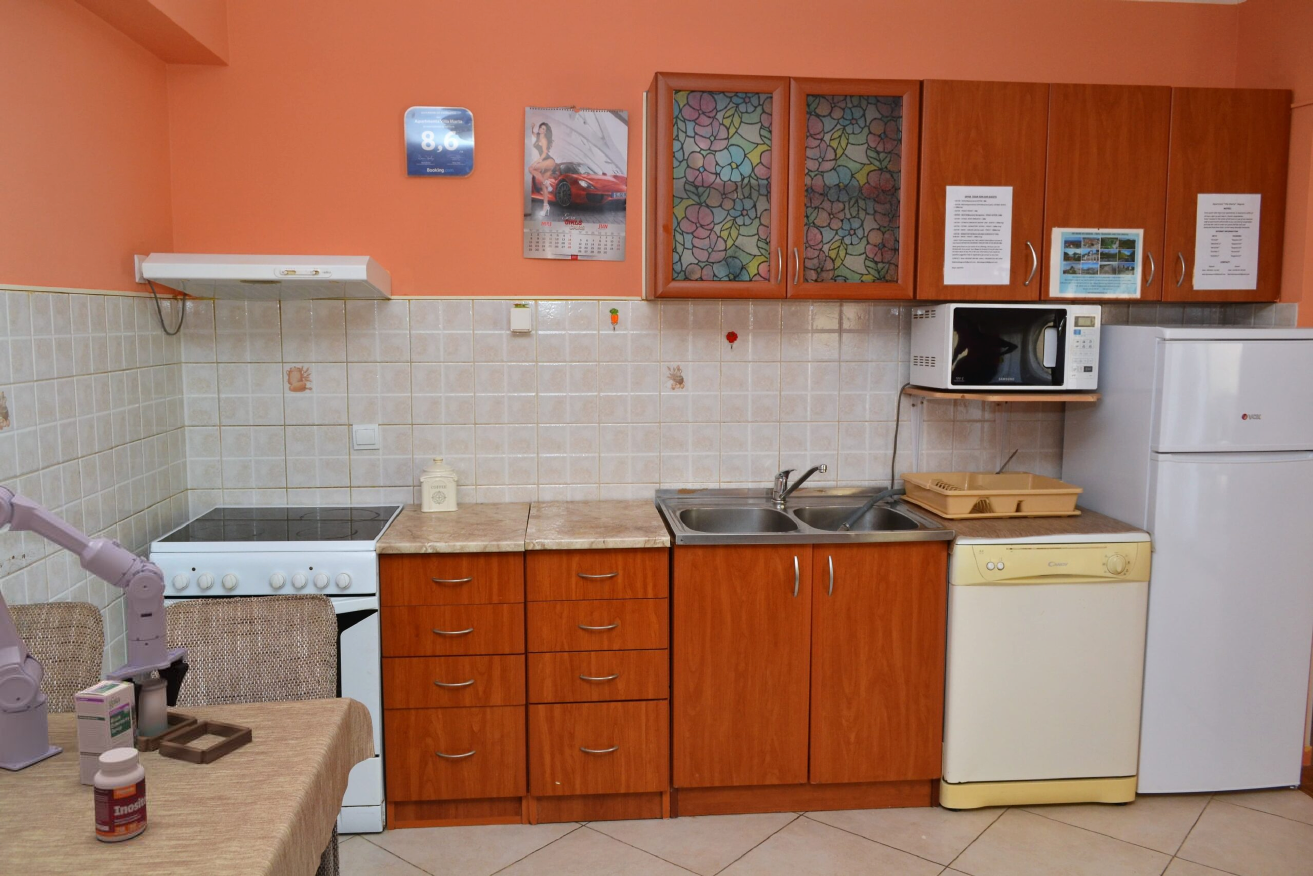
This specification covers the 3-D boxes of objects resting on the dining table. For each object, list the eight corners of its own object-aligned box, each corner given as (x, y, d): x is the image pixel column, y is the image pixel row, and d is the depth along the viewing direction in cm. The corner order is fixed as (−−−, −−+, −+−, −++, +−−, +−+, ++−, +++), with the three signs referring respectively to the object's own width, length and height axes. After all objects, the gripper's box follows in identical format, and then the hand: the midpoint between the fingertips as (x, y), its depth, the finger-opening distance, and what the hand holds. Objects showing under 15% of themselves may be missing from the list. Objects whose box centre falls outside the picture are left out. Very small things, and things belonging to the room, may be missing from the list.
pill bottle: (118, 847, 127) (114, 768, 126) (85, 838, 129) (80, 760, 128) (158, 825, 132) (154, 749, 131) (125, 817, 135) (121, 742, 134)
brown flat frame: (102, 742, 159) (102, 731, 159) (155, 720, 169) (155, 709, 169) (205, 765, 151) (204, 753, 151) (254, 739, 161) (254, 728, 161)
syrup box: (112, 788, 143) (107, 695, 142) (78, 784, 144) (73, 692, 143) (140, 771, 149) (135, 681, 147) (107, 768, 150) (102, 678, 148)
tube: (130, 737, 161) (128, 685, 160) (154, 726, 165) (152, 676, 164) (151, 742, 159) (149, 689, 158) (175, 731, 163) (173, 680, 162)
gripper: (127, 651, 152) (131, 733, 154) (200, 626, 166) (203, 701, 167) (95, 646, 155) (99, 726, 156) (169, 621, 168) (173, 696, 170)
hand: (151, 713), depth 162 cm, fingers open, 7 cm apart
